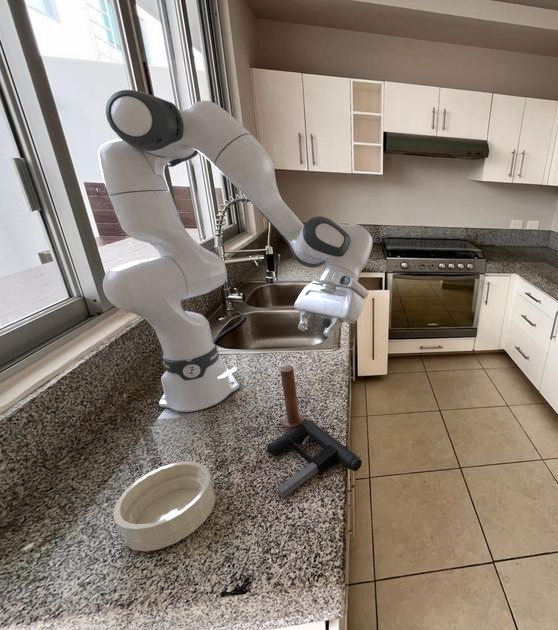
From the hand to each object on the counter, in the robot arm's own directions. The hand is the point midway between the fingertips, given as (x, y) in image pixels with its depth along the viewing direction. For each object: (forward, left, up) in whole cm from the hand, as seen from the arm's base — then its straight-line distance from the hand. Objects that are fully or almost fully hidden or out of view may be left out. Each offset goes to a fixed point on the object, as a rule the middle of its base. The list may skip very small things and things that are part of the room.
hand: (313, 332), depth 83 cm
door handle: (+18, -8, -22) cm, 29 cm away
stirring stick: (+4, -8, -22) cm, 24 cm away
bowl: (+19, -32, -22) cm, 43 cm away
